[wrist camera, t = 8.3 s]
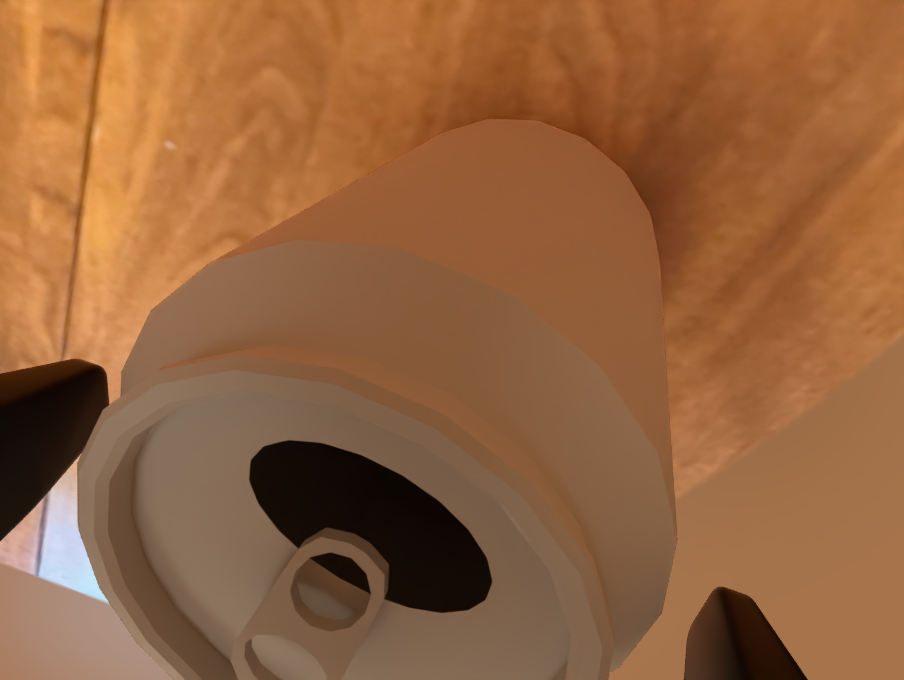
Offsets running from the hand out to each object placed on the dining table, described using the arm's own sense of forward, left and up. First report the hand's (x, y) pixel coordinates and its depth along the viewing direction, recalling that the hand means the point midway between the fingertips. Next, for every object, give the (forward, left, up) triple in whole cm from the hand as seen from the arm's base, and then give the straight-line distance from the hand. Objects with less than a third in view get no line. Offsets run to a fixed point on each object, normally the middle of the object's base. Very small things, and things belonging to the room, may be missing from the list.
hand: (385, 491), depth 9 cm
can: (0, 0, -10) cm, 10 cm away
